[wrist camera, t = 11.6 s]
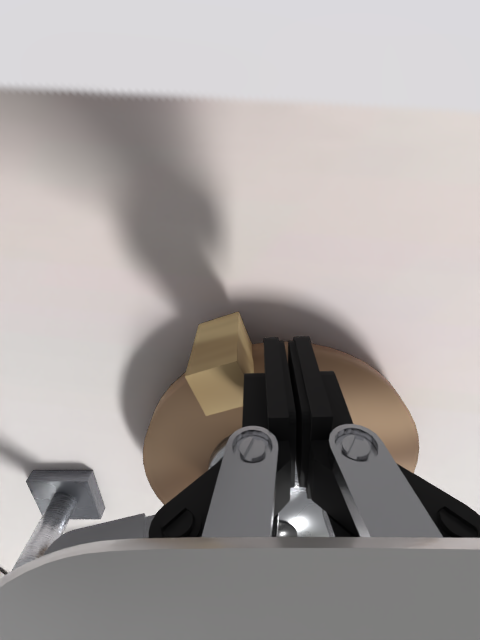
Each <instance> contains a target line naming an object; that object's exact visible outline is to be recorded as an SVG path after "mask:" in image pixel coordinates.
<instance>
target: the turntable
mask: <svg viewBox="0 0 480 640" xmlns="http://www.w3.org/2000/svg"><path fill="white" fill-rule="evenodd" d="M284 343H285V349H286V355H287V361H288V342H284ZM311 344H312V343H311ZM312 347H313V351H314V354H315V357H316V361H317V364H318V367H319V371H334V373H335V375H336V377H337V380H338V383H339V386H340V388H341V391H342V394H343V397H344V399H345V402H346V405H347V407H348V410H349V413H350V416H351V418H352V421H353V424H356V425H361V426H364V427H366V428H368V429H370V430H371V431H373V432H374V433H376V434H377V435H378V437H379V438H380V439H381V440H382V442H383V443H384V445H385V446H386V448H387V449H388V451H389V453H390V454H391V456H392V457H393V459H394V460H395V462H396V463H397V464H399V465H400V466H402V467H404V468H405V469H407V470H409V471H410V472H412V473H414V470H415V467H416V464H417V460H418V453H419V439H418V433H417V429H416V425H415V422H414V420H413V418H412V416H411V414H410V412H409V410H408V409H407V407H406V405H405V404H404V402H403V401H402V399H401V398H400V396H399V395H398V393H397V392H396V391H395V389H394V388H393V386H392V385H391V384H390V382H388V381H387V380H386V379H385V378H384V377H383V376H382V375H381V374H380V373H379V372H378V371H377V370H375V369H374V368H372V367H371V366H370V365H368V364H367V363H365V362H363V361H362V360H360V359H358V358H356V357H354V356H352V355H350V354H347V353H344V352H342V351H339V350H336V349H333V348H330V347H325V346H321V345H316V344H312ZM244 373H265V368H264V343H258V344H252V343H251V341H250V338H249V336H248V333H247V331H246V328H245V326H244V323H243V321H242V319H241V316H240V314H239V311H238V312H235V313H232V314H229V315H226V316H223V317H220V318H217V319H214V320H211V321H207V322H204V323H201V324H199V325H198V329H197V332H196V336H195V340H194V344H193V347H192V351H191V355H190V358H189V362H188V366H187V369H186V372H185V373H184V374H183V375H182V376H181V377H179V378H178V379H177V380H176V381H175V382H174V383H173V384H172V385H171V386H170V387H169V389H168V390H167V391H166V392H165V394H164V395H163V396H162V398H161V399H160V401H159V403H158V405H157V406H156V408H155V411H154V414H153V416H152V419H151V422H150V425H149V428H148V431H147V433H146V436H145V440H144V447H143V464H144V468H145V473H146V476H147V478H148V481H149V483H150V486H151V487H152V489H153V491H154V492H155V494H156V495H157V497H158V498H159V499H160V500H161V502H162V503H163V504H164V505H165V504H166V503H168V502H169V501H170V500H171V499H173V498H174V497H175V496H176V495H178V494H179V493H180V492H181V491H183V490H184V489H185V488H186V487H188V486H189V485H190V484H191V483H193V482H194V481H195V480H196V479H198V478H199V477H200V476H201V475H202V474H204V473H205V472H206V471H207V470H208V467H209V460H210V457H211V454H212V453H213V451H214V449H215V448H216V447H217V445H218V444H219V443H220V442H221V441H222V440H223V439H225V438H226V437H228V436H229V435H231V434H233V433H234V432H235V431H237V430H238V429H240V428H242V416H243V389H244Z"/></svg>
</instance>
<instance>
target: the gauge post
mask: <svg viewBox="0 0 480 640" xmlns="http://www.w3.org/2000/svg"><path fill="white" fill-rule="evenodd" d="M26 482H27V485H28V487H29V489H30V491H31V493H32V495H33V497H34V499H35V501H36V503H37V505H38V508H39V510H40V512H41V514H42V518H41V519H40V521H39V523H38V525H37V527H36V528H35V530H34V532H33V534H32V535H31V537H30V539H29V541H28V543H27V544H26V546H25V548H24V550H23V552H22V553H21V555H20V557H19V559H18V560H17V562H16V564H15V566H14V568H13V569H12V571H13V570H15V569H16V568H18V567H20V566H22V565H24V564H26V563H28V562H30V561H32V560H35V559H37V558H39V557H42V556H43V555H44V553H45V551H46V550H47V549H48V547H49V546H50V545H51V544H52V543H53V542H54V541H55V540H56V539H58V538H59V537H60V536H62V534H63V532H64V530H65V528H66V526H67V524H68V521H69V519H101V517H102V515H103V512H104V510H105V506H104V503H103V500H102V497H101V494H100V491H99V488H98V485H97V482H96V479H95V476H94V473H93V470H33V471H32V473H31V474H30V476H29V477H28V479H27V480H26Z"/></svg>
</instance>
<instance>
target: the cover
mask: <svg viewBox="0 0 480 640" xmlns="http://www.w3.org/2000/svg"><path fill="white" fill-rule="evenodd" d="M231 435H232V434H231ZM231 435H229V436H228V437H226V438H225V439H223V440H222V441H221V442H220V443H219V444H218V445H217V447H216V448H215V449H214V451H213V453H212V454H211V457H210V460H209V467H208V470H209V469H210V468H211V467H212V466H214V465H215V464H216V463H217V462H219V461H220V460H221V459H222V458H223V456H224V452H225V448H226V444H227V442H228V439H229V437H230V436H231ZM277 537H330V536H329V533H328V530H327V527H326V524H325V521H324V519H323V514H322V508H321V507H319V506H318V505H317V504H316V503H314V502H313V501H312V499H307V493H306V487H299V482H298V475H297V467H296V460H295V487H294V488H290V501H289V502H288V503H287V504H286V505H285V507H284V508H283V509H282V510H281V511H280V512H279V523H278V536H277Z"/></svg>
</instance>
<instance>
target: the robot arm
mask: <svg viewBox="0 0 480 640" xmlns="http://www.w3.org/2000/svg"><path fill="white" fill-rule="evenodd" d="M264 368H265V373H244V389H243V416H242V428H240V429H238V430H237V431H235V432H234V433H233V434H232V435H231V436H230V437H229V439H228V442H227V444H226V448H225V452H224V456H223V458H222V459H221V460H220V461H219V462H217V463H216V464H215V465H214V466H212V467H211V468H210V469H209V470H207V471H206V472H205V473H204V474H202V475H201V476H200V477H199V478H198V479H196V480H195V481H194V482H193V483H191V484H190V485H189V486H188V487H186V488H185V489H184V490H183V491H181V492H180V493H179V494H178V495H176V496H175V497H174V498H173V499H171V500H170V501H169V502H168V503H166V504H165V505H164V506H163V507H162V508H161V509H160V510H159V511H158V512H157V513H156V515H152V516H148V517H145V514H144V513H143V514H139V515H135V516H130V517H126V518H122V519H118V520H114V521H109V522H105V523H101V524H97V525H93V526H89V527H84V528H80V529H76V530H72V531H70V532H68V533H65V534H63V535H62V536H60V537H59V538H58V539H56V540H55V541H54V542H53V543H52V544H51V545H50V546H49V547H48V549H47V550H46V551H45V553H44V555H43V556H42V557H39V558H37V559H35V560H32V561H30V562H28V563H26V564H24V565H22V566H20V567H18V568H16V569H15V570H13V571H11V572H9V573H8V574H6V575H5V574H3V573H2V572H0V640H480V515H478V514H477V513H476V512H475V511H474V510H472V509H471V508H469V507H468V506H467V505H465V504H464V503H462V502H460V501H459V500H457V499H455V498H454V497H452V496H450V495H449V494H447V493H445V492H444V491H442V490H440V489H439V488H437V487H435V486H434V485H432V484H430V483H429V482H427V481H425V480H424V479H422V478H420V477H419V476H417V475H415V474H414V473H412V472H410V471H409V470H407V469H405V468H404V467H402V466H400V465H399V464H397V463H396V462H395V460H394V459H393V457H392V456H391V454H390V453H389V451H388V449H387V448H386V446H385V445H384V443H383V442H382V440H381V439H380V438H379V437H378V435H377V434H376V433H374V432H373V431H371V430H370V429H368V428H366V427H364V426H361V425H356V424H353V421H352V418H351V416H350V413H349V410H348V407H347V405H346V402H345V399H344V397H343V394H342V391H341V388H340V386H339V383H338V380H337V377H336V375H335V373H334V371H319V367H318V364H317V361H316V357H315V354H314V351H313V347H312V344H311V341H310V338H309V336H305V337H294V339H293V341H288V361H287V355H286V349H285V343H284V341H279V340H278V337H277V338H264ZM295 460H296V467H297V475H298V482H299V487H306V493H307V499H312V501H313V502H314V503H316V504H317V505H318V506H319V507H321V508H322V514H323V519H324V521H325V524H326V527H327V530H328V533H329V536H330V537H277V536H278V523H279V512H280V511H281V510H282V509H283V508H284V507H285V505H286V504H287V503H288V502H289V501H290V488H294V487H295Z"/></svg>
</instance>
